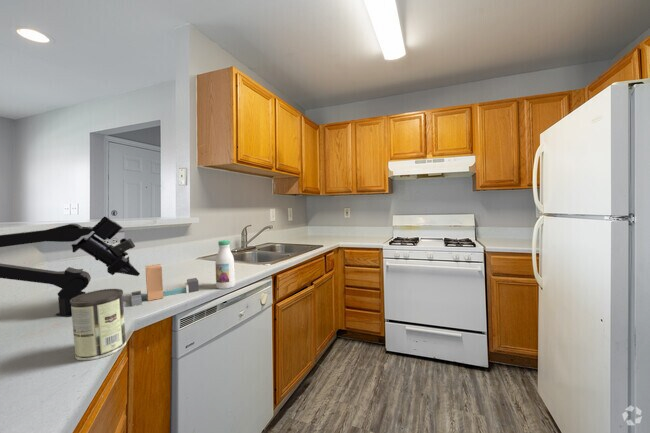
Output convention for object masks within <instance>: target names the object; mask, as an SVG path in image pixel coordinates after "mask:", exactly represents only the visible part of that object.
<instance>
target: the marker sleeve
mask: <svg viewBox="0 0 650 433" xmlns="http://www.w3.org/2000/svg"><path fill="white" fill-rule="evenodd" d="M162 270H163V269H162V265H161V264H160V263H158V264H157V263H156V264H149V265H145V279H146V280H145V281H146V294H147V295H148V299H147V301H153V300H158V299H159V300H160V299H163V298H164V296H163V291H164V287H163V284H164V283H163V271H162Z"/></svg>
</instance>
